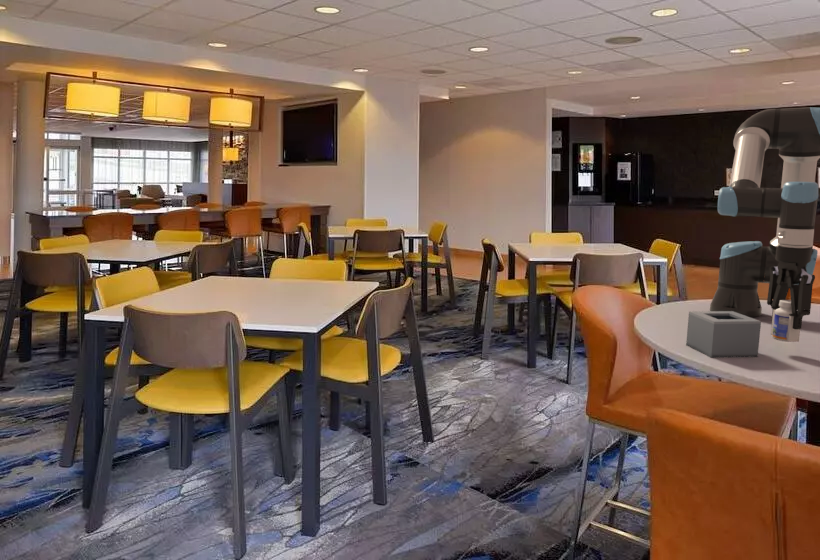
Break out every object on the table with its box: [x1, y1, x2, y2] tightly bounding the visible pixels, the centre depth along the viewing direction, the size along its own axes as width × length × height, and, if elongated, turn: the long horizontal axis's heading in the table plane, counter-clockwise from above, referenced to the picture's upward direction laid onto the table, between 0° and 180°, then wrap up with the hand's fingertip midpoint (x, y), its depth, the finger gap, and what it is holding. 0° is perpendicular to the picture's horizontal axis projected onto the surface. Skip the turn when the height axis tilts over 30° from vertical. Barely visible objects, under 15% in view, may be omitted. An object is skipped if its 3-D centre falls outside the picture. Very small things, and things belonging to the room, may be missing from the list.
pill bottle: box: [771, 299, 792, 343], centre depth 164 cm, size 5×5×10 cm
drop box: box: [685, 310, 762, 359], centre depth 167 cm, size 12×12×9 cm
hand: (784, 337), depth 165 cm, fingers closed on pill bottle, 5 cm apart
